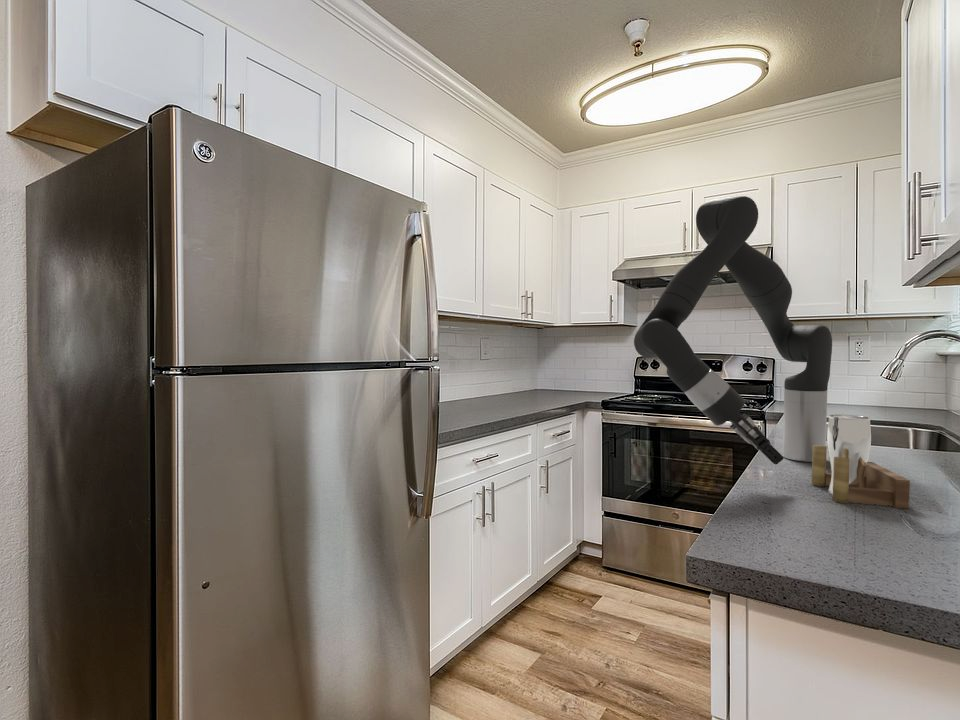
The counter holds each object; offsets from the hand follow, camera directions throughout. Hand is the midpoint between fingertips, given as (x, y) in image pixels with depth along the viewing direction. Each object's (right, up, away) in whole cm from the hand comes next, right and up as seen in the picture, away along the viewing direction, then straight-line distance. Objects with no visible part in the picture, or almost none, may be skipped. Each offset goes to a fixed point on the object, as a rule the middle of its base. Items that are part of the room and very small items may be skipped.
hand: (778, 460), depth 107 cm
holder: (+12, -6, -3) cm, 14 cm away
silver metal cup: (+11, -6, -3) cm, 13 cm away
